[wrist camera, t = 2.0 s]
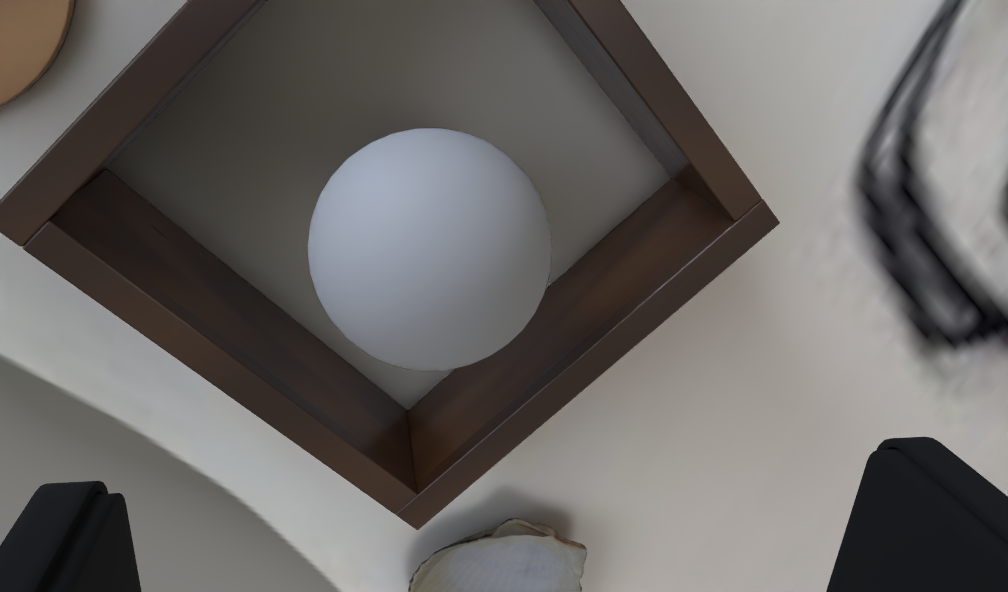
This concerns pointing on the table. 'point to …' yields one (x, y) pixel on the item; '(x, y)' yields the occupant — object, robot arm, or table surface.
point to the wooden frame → (312, 365)
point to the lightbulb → (430, 249)
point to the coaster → (29, 41)
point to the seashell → (505, 562)
